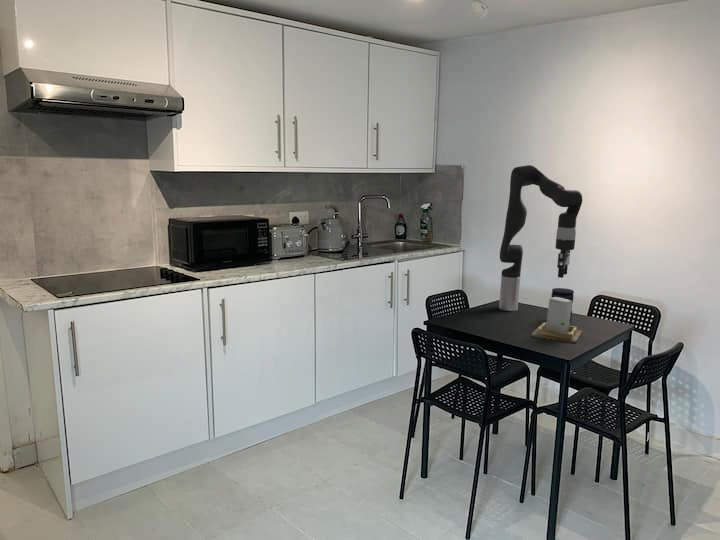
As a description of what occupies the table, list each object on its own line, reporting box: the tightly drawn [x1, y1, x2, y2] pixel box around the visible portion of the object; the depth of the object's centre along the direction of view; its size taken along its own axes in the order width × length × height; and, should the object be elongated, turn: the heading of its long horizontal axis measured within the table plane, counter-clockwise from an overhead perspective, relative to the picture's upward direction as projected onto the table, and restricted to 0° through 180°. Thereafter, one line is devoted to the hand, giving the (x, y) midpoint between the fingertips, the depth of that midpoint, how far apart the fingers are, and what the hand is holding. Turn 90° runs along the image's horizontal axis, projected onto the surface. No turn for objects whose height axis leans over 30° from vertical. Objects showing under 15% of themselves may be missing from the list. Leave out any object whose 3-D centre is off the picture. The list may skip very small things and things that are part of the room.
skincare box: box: [545, 297, 573, 333], centre depth 239 cm, size 8×6×15 cm
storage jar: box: [550, 287, 575, 324], centre depth 262 cm, size 10×10×15 cm
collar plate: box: [530, 321, 583, 344], centre depth 240 cm, size 18×18×3 cm
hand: (562, 275), depth 236 cm, fingers open, 8 cm apart
